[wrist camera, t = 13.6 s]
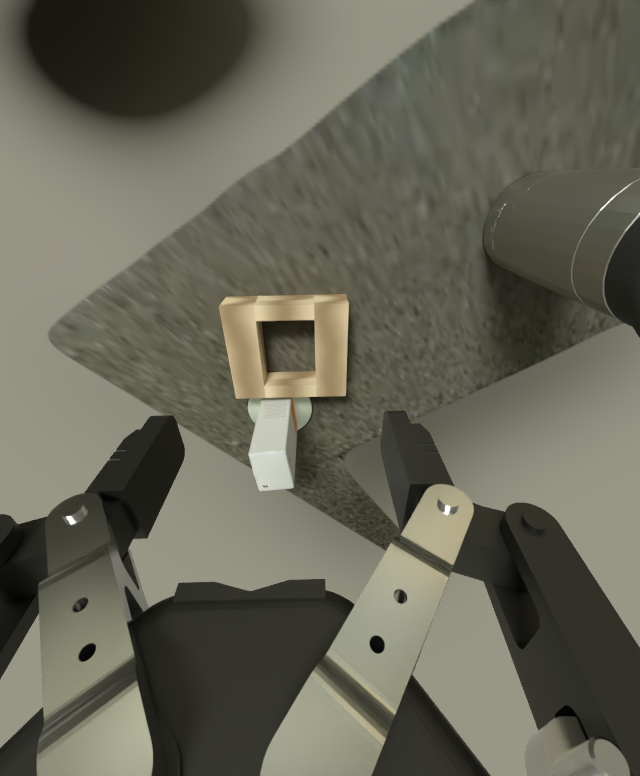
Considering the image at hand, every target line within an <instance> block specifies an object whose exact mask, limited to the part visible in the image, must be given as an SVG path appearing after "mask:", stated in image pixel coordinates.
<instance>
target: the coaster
mask: <svg viewBox="0 0 640 776" xmlns="http://www.w3.org/2000/svg"><path fill="white" fill-rule="evenodd" d="M261 399H262V398H250V399H249V402H248V411H249V415H250V417H251V419H252V420H253V421H254V423H255V424H256V420H257V416H258V412H259V407H260V403H261ZM293 403H294V409H295V414H296V420H297V424H298V427H297V430H299V429H301V428H302V427H303V426H304V425H305V424H306V423H307V422H308V421H309V419H310V416H311V412H312V404H311V400H310V398H309V397H293Z"/></svg>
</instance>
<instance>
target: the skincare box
mask: <svg viewBox="0 0 640 776" xmlns="http://www.w3.org/2000/svg"><path fill="white" fill-rule="evenodd" d="M297 427H298V424H297V420H296V414H295V409H294V403H293V397H281V398H262V399H261V403H260V407H259V412H258V416H257V420H256V424H255V429H254V433H253V437H252V442H251V446H250V450H249V458H250V461H251V465H252V469H253V474H254V476H255V478H256V482H257V485H258V488H259V491H267V490H279V489H289V488H294V477H295V460H296V443H297Z"/></svg>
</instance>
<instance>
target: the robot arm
mask: <svg viewBox="0 0 640 776" xmlns="http://www.w3.org/2000/svg"><path fill="white" fill-rule="evenodd" d="M483 237H484V246H485V249H486V253H487V254H488V256H489V258H490V259H491V260H492V261H493V262H494V263H495V264H496V265H498V266H500V267H502V268H504V269H506V270H508V271H511V272H513V273H515V274H517V275H519V276H521V277H523V278H525V279H528V280H530V281H532V282H534V283H537V284H539V285H541V286H543V287H545V288H548V289H550V290H552V291H554V292H556V293H559V294H561V295H563V296H565V297H567V298H570V299H572V300H574V301H576V302H578V303H581V304H583V305H585V306H587V307H589V308H592V309H594V310H597V311H599V312H601V313H603V314H605V315H608V316H610V317H612V318H614V319H616V320H619V321H621V322H623V323H626V324H628V325H630V326H632V327H633V328H634V329H635V331H636V333H637V334H638V336H639V337H640V168H623V169H601V170H579V171H554V172H538V173H534V174H530V175H527V176H525V177H523V178H521V179H519V180H517V181H516V182H515V183H513V184H512V185H510V186H509V187H508V188H507V189H506V190H505V191H504V192H503V193H502V194H501V195H500V196H499V198H498V199H497V200H496V202H495V203H494V205H493V206H492V208H491V210H490V212H489V214H488V217H487V220H486V223H485V227H484V235H483ZM184 455H185V449H184V444H183V441H182V438H181V435H180V432H179V428H178V425H177V422H176V419H175V418H174V416H172V415H171V416H151V417H149V419H148V420H147V421H146V423H145V424H144V426H143V427H142V429H141V430H135V431H134V432H133V433H131V434H130V435H129V436H127V437H126V438H125V439H124V440H123V441H122V443H121V444H120V445H119V447H118V448H117V450H116V452H114V454H113V455H112V456H111V457H110V461H107V463H106V464H105V466H104V467H103V468H102V470H101V471H100V472H99V474H98V475H97V476H96V478H95V479H94V480H93V482H92V483H91V485H90V486H89V487H88V489H87V490H86V491H85V493H82V494H78V495H75V496H72V497H70V498H68V499H66V500H65V501H63V502H61V503H60V504H59V505H57V506H56V507H55V508H54V509H53V510H52V511H51V512H50V513H49V515H48V516H47V517H44V518H40V519H37V520H33V521H29V522H25V523H22V524H17V523H16V522H15V521H14V520H13V518H12V517H11V516H9V515H4V514H0V679H1V677H2V675H3V674H4V672H5V670H6V668H7V666H8V665H9V663H10V662H11V660H12V658H13V656H14V655H15V653H16V651H17V650H18V648H19V646H20V644H21V643H22V641H23V639H24V638H25V636H26V634H27V632H28V631H29V629H30V627H31V626H32V624H33V622H34V620H35V619H36V617H37V615H38V614H39V621H40V645H41V666H42V690H43V707H42V709H40V710H39V712H37V713H36V714H35V715H34V716H33V717H32V718H31V719H30V720H29V721H28V722H27V723H26V724H25V725H24V726H23V727H22V728H21V729H20V730H19V731H18V732H17V733H16V734H15V735H13V736H12V737H11V738H10V739H9V740H8V741H7V742H6V743H5V744H4V745H3V746H2V747H1V748H0V776H490V774H489V773H488V772H487V770H486V769H485V768H484V766H483V765H482V764H481V763H480V761H479V760H478V759H477V757H476V756H475V755H474V754H473V752H472V751H471V750H470V748H469V747H468V746H467V745H466V743H465V742H464V741H463V740H462V738H461V737H460V736H459V734H458V733H457V732H456V731H455V729H454V728H453V727H452V725H451V724H450V723H449V721H448V720H447V719H446V717H445V716H444V715H443V714H442V712H441V711H440V710H439V708H438V707H437V706H436V705H435V703H434V702H433V701H432V700H431V698H430V697H429V696H428V694H427V693H426V692H425V691H424V689H423V688H422V687H421V685H420V684H419V683H418V681H417V680H416V679H415V678H414V676H413V675H412V674H413V671H414V669H415V666H416V663H417V661H418V658H419V656H420V653H421V650H422V648H423V645H424V642H425V640H426V637H427V635H428V632H429V629H430V627H431V624H432V621H433V619H434V616H435V614H436V611H437V609H438V606H439V603H440V601H441V598H442V596H443V593H444V590H445V588H446V585H447V583H448V580H449V577H450V575H451V572H455V573H458V574H461V575H465V576H468V577H472V578H475V579H478V580H481V581H484V583H485V586H486V589H487V592H488V594H489V597H490V600H491V603H492V605H493V608H494V611H495V613H496V616H497V619H498V621H499V624H500V627H501V630H502V632H503V635H504V638H505V641H506V643H507V646H508V649H509V651H510V654H511V657H512V660H513V662H514V665H515V668H516V671H517V673H518V676H519V679H520V681H521V684H522V687H523V690H524V692H525V695H526V698H527V700H528V703H529V706H530V709H531V711H532V714H533V717H534V720H535V722H536V725H537V728H538V730H539V731H538V732H537V733H535V734H534V735H533V736H532V737H531V738H530V739H529V741H528V743H527V745H526V750H525V765H526V771H527V776H640V647H639V646H638V644H637V643H636V641H635V640H634V638H633V637H632V635H631V634H630V632H629V631H628V629H627V628H626V626H625V624H624V623H623V621H622V620H621V618H620V617H619V615H618V614H617V612H616V611H615V609H614V607H613V606H612V604H611V603H610V601H609V600H608V598H607V597H606V595H605V594H604V592H603V591H602V589H601V588H600V586H599V584H598V583H597V581H596V580H595V578H594V577H593V575H592V574H591V572H590V571H589V569H588V567H587V566H586V564H585V563H584V561H583V560H582V558H581V557H580V555H579V554H578V552H577V551H576V549H575V547H574V546H573V544H572V543H571V541H570V540H569V538H568V537H567V535H566V534H565V532H564V531H563V529H562V528H561V526H560V525H559V523H558V522H557V521H556V519H555V518H554V517H552V516H551V515H550V514H549V513H548V512H546V511H545V510H543V509H541V508H539V507H537V506H535V505H532V504H527V503H514V504H512V505H510V506H509V507H508V508H507V509H506V511H505V512H503V511H499V510H495V509H491V508H487V507H483V506H480V505H477V504H475V503H472V502H471V500H470V498H469V497H468V496H467V495H466V494H465V493H463V491H461V490H460V489H458V488H456V487H454V485H453V482H452V480H451V478H450V476H449V474H448V472H447V469H446V467H445V465H444V463H443V461H442V459H441V457H440V454H438V450H437V448H436V446H435V445H434V441H433V439H432V437H431V435H430V433H429V432H428V431H427V430H426V429H425V428H424V427H423V426H422V425H421V424H411V423H410V421H409V418H408V416H407V413H406V411H385V413H384V418H383V427H382V436H381V455H382V460H383V463H384V468H385V472H386V476H387V480H388V484H389V488H390V492H391V496H392V499H393V504H394V508H395V512H396V516H397V520H398V524H399V528H400V532H401V533H402V534H401V535H400V537H399V538H397V537H396V538H394V539H393V541H392V542H391V544H390V545H389V547H388V549H387V550H386V552H385V554H384V556H383V557H382V559H381V561H380V563H379V564H378V566H377V568H376V570H375V571H374V573H373V575H372V576H371V578H370V580H369V581H368V583H367V585H366V587H365V588H364V590H363V592H362V594H361V595H360V597H359V599H358V600H357V602H356V604H355V605H354V604H353V603H352V602H351V601H349V600H348V599H346V598H344V597H342V596H340V595H338V594H336V593H333V592H330V591H326V590H325V579H311V580H310V579H309V580H288V581H284V582H281V583H278V584H274V585H271V586H268V587H264V588H261V589H257V590H254V591H246V590H242V589H239V588H235V587H231V586H228V585H224V584H220V583H216V582H194V583H179V584H178V586H177V590H176V592H175V595H174V596H172V597H169V598H167V599H165V600H162V601H160V602H158V603H156V604H155V605H153V606H151V607H150V608H149V606H148V604H147V602H146V599H145V596H144V593H143V590H142V587H141V583H140V580H139V577H138V573H137V570H136V567H135V563H134V560H133V557H132V553H131V551H130V549H129V546H130V544H131V542H132V540H133V539H141V538H142V539H143V538H148V535H149V533H150V531H151V529H152V527H153V525H154V523H155V520H156V518H157V516H158V514H159V512H160V510H161V507H162V505H163V503H164V501H165V499H166V497H167V495H168V493H169V491H170V488H171V486H172V484H173V482H174V480H175V478H176V476H177V473H178V471H179V469H180V467H181V465H182V462H183V460H184Z"/></svg>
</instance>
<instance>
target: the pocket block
mask: <svg viewBox="0 0 640 776" xmlns="http://www.w3.org/2000/svg"><path fill="white" fill-rule="evenodd" d="M219 310H220V315H221V320H222V326H223V331H224V336H225V342H226V347H227V352H228V358H229V363H230V368H231V374H232V379H233V384H234V390H235V395H236V399H238V398H281V397H324V396H346V376H347V344H348V312H349V303H348V299H347V296H346V294H331V295H285V296H238V297H226V298H225V299H224V300H223V302H222V303H221V304H220V306H219ZM287 320H314V322H315V359H316V371H305V372H267V364H266V356H265V347H264V339H263V331H262V322H261V321H287Z"/></svg>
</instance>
